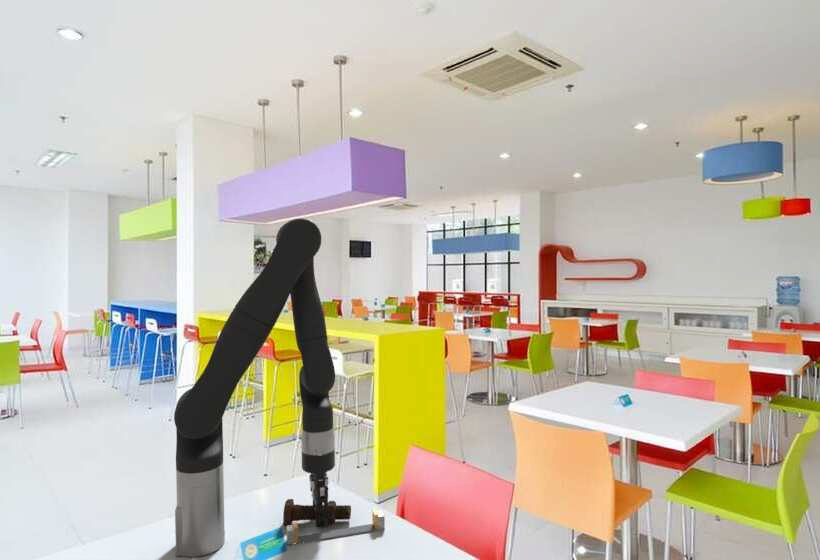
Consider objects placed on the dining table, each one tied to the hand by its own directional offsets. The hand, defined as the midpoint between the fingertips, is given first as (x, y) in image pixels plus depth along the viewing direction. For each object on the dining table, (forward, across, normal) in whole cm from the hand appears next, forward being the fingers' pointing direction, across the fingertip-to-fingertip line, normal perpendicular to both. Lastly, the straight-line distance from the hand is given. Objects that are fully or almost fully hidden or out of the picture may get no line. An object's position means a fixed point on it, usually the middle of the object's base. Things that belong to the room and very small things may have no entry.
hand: (319, 519), depth 116 cm
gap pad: (+1, +7, +3) cm, 7 cm away
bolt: (+1, 0, 0) cm, 1 cm away
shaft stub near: (+1, +7, -6) cm, 9 cm away
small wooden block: (+1, +6, +12) cm, 14 cm away
